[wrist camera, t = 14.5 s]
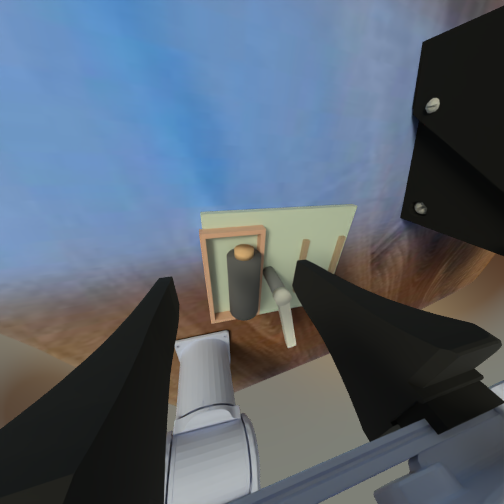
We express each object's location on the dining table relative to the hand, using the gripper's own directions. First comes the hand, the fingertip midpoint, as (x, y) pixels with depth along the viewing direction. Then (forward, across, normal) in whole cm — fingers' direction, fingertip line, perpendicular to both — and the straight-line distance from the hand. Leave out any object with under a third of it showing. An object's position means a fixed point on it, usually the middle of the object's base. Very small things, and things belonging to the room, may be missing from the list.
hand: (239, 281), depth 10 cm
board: (+10, -7, +7) cm, 14 cm away
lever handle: (+5, -7, +11) cm, 14 cm away
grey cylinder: (+9, -1, +7) cm, 11 cm away
